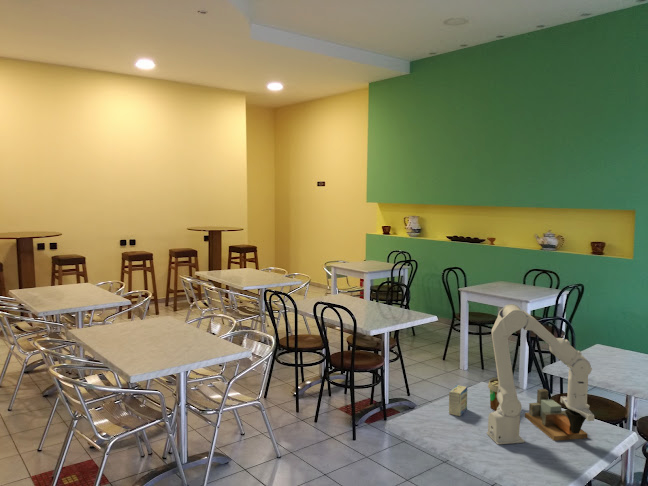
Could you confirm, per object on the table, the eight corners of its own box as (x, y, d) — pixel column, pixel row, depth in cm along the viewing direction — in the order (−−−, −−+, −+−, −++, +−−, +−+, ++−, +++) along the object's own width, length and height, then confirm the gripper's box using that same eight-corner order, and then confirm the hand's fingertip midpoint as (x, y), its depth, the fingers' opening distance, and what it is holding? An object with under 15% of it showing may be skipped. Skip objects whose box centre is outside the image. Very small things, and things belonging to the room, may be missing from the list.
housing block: (549, 423, 178) (550, 406, 177) (540, 416, 184) (540, 399, 183) (560, 422, 178) (561, 406, 178) (550, 415, 184) (551, 399, 183)
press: (553, 440, 169) (555, 411, 168) (524, 416, 186) (525, 390, 185) (587, 438, 170) (589, 408, 169) (555, 414, 188) (556, 388, 187)
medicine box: (460, 417, 187) (460, 393, 186) (448, 414, 189) (448, 391, 188) (467, 409, 193) (467, 386, 192) (455, 406, 196) (456, 384, 195)
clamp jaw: (559, 437, 167) (559, 425, 167) (541, 423, 177) (542, 412, 177) (587, 434, 169) (588, 423, 168) (568, 421, 179) (569, 410, 178)
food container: (493, 399, 202) (493, 374, 201) (509, 403, 199) (509, 377, 198) (482, 410, 192) (483, 384, 191) (499, 414, 189) (500, 387, 188)
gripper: (604, 400, 159) (601, 442, 160) (574, 383, 173) (573, 421, 175) (583, 401, 158) (580, 444, 159) (555, 384, 172) (553, 423, 174)
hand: (575, 432), depth 167 cm, fingers closed
